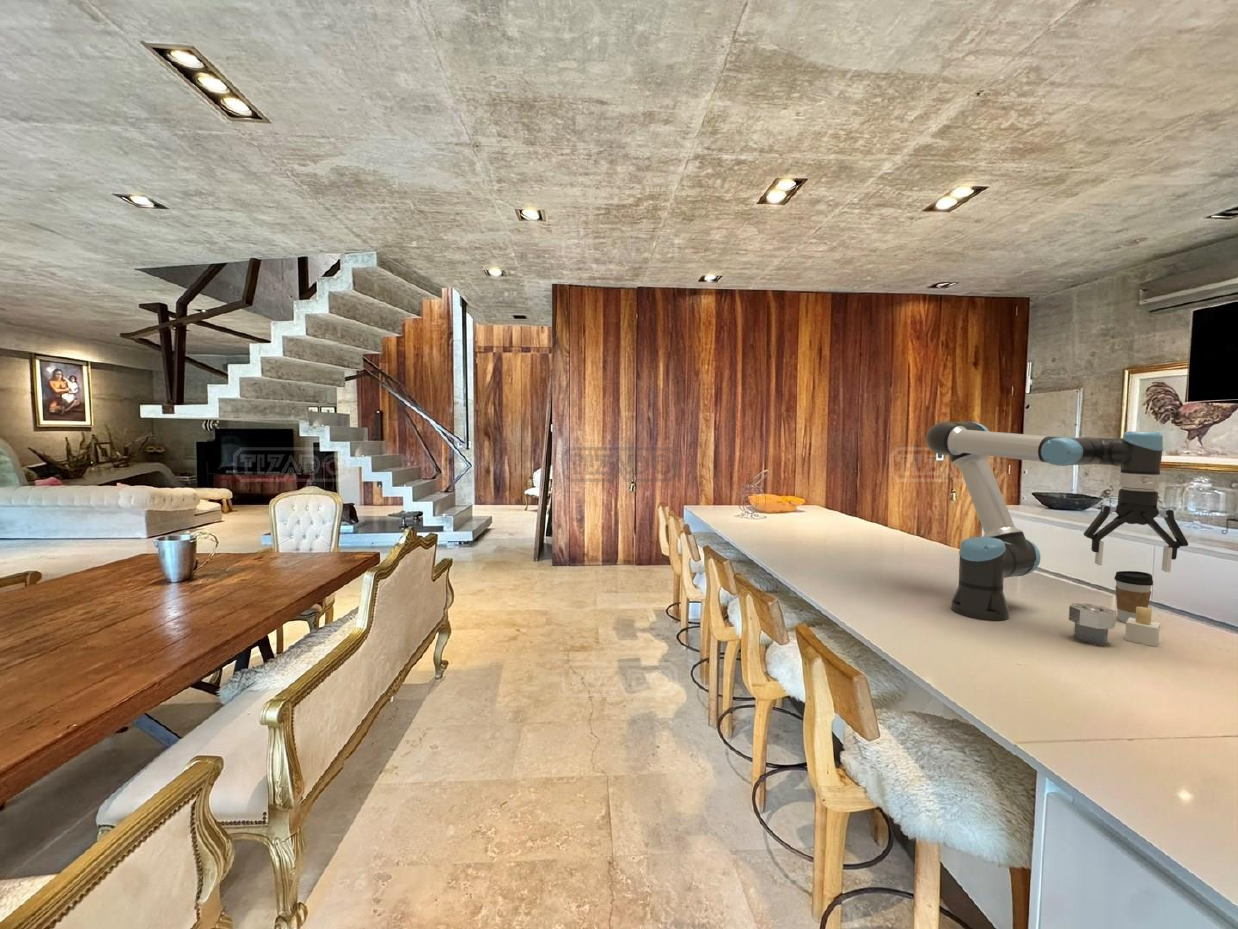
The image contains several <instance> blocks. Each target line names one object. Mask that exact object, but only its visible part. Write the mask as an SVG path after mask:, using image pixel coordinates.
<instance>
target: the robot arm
mask: <svg viewBox="0 0 1238 929" xmlns="http://www.w3.org/2000/svg"><path fill="white" fill-rule="evenodd" d="M925 438H926V439H925V440H926V444H927V446H928V449H929V450H931V451H932V452H933V453H935V454H937V455H942V456H949V458H950V460H951V463H952V465H954V466H956V467H958V468H959V470H960V473H961V475H962V478H963V481H964V483H965V486H966V488H967V490H968V493H969V494H968V495H969V496H970V498H971V502H972V503H973V507H974V510H975V511H976V515H977V517H978V519H979V522H980V525H981V528H982V530H983V533H984V534H983V536H980V537H977V536H973V537H968V538H965V539H963V540H962V541H961V542H960V548H959V551H958V554H959V563H958V564H959V565H958V568H959V569H958V586H957V588H956V591H955V593H954V595H953V598H952V599H951V604H950V605H951V606H950V608H951V610H953V611H954V612H955V613H957V614H960V615H962V616H966V617H970V618H972V619H978V620H984V621H985V620H986V621H987V620H988V621H1006V620H1008V619H1009V618H1010V609H1009V608H1010V607H1009V605H1008V603H1007V600H1006V597H1005V593H1004V581H1005V580H1004V579H1005V578H1006V579H1007V578H1014V577H1023V576H1025V575H1029V574H1031V573H1033V572H1034V571H1036V570H1037V568H1039V566H1040V564H1041V552H1040V549H1039V547H1038V546H1037V545H1036V544H1035V543H1034V542H1031V541H1030V540H1029V539H1026V536H1025V533H1024V531H1023V530H1022V529H1019V528H1017V527H1016V526H1015V524H1014V521H1013V518H1012V516H1011V514H1010V512H1009V509H1008V506H1007V504H1006V502H1005V499H1004V497H1003V494H1002V492H1001V489H1000V487H999V483H998V482H997V480H996V477H995V475H994V471H993V469H992V467H991V464H990V461H989V458H990V457H997V458H1005V459H1012V460H1013V459H1015V460H1023V461H1031V462H1039V463H1047V464H1050V465H1052V466H1058V467H1059V466H1060V467H1061V466H1062V467H1067V466H1074V465H1076V466H1081V465H1083V466H1084V465H1085V466H1086V465H1088V466H1089V465H1101V466H1115V467H1117V466H1119V467H1120V473H1119V482H1118V486H1119V487H1120V489H1118V493H1117V494H1118V495H1117V496H1118V497H1117V504H1116V506H1110V505H1107V504H1102V505H1101V508H1100V512H1099V513H1098V514H1097V516H1096V517H1095V518H1094V520H1093V521H1092V522H1091V523H1090V524H1089V526H1088V527H1087V529H1086V530H1085V531H1084V532H1083V536H1084V537H1086V538H1087V539H1091V548H1090V549H1091V551H1092V553H1093V552H1094V553H1095V557H1094V564H1096V565H1097V566H1102V565H1103V555H1104V547H1105V546H1104V544H1105V542H1104V541H1103V540H1102V539H1104V538H1105V537H1106V536H1107V535H1110V534H1111V533H1112V532H1113V531H1115V530H1116V529H1117V528H1119V527H1120V526H1123V524H1125V523H1126V524H1129V525H1135V524H1136V525H1141V526H1142V525H1143V526H1145V525H1148V526H1149V527H1150V528H1152V530H1153V531H1155V533H1156V534H1157V535H1158V536H1159V537H1160V538H1161V539H1162V540H1163V541H1164V542H1165V543H1166V545H1163V547H1162V548H1163V549H1162V559H1161V560H1162V561H1161V570H1162V571H1163V572H1166V573H1171V567H1172V566H1171V565H1172V560H1173V561H1174V560H1175V561H1176V559H1177V558H1178V557H1177V556H1178V549H1179V548H1180V547H1187V546H1189V542H1188V540H1187V538H1186V536H1185V535H1184V532H1183V531H1182V530H1181V528H1180V526H1179V525H1178V523H1177V521H1176V519H1175V511H1174V510H1172V509H1169V508H1164V509H1158V502H1159V499H1158V498H1159V492H1158V491H1157V490H1159V487H1160V478H1161V465H1162V459H1163V458H1162V457H1163V452H1164V447H1163V445H1164V442H1163V441H1164V436H1163V434H1162V433H1161V432H1158V431H1124V433H1123V435H1122V438H1120V437H1119V438H1114V437H1113V438H1112V437H1111V438H1108V437H1090V436H1087V437H1086V436H1085V437H1082V436H1081V437H1065V436H1064V437H1062V436H1051V435H1049V436H1048V435H1047V436H1046V435H1038V434H1037V435H1036V434H1024V433H1011V432H1001V431H999V432H998V431H990V430H989V429H988V428H987V427H986V426H985V425H983V424H981V423H978V422H973V421H941V422H938V423H936V424H934V425H933V426H932V427H930V428H929V430H928V431H927V433H926V437H925ZM1113 512H1115V513H1116V515H1117V516H1116V517H1115V518H1113V519H1112V520H1111V521H1110V522H1109V523H1108V524H1106V525H1105V526H1104V527H1102V528H1101V529H1099V528H1100V527H1101V526H1102V525H1103V524H1104V523H1105V521H1106V520H1107V519H1108V518H1109V516H1110V515H1112V514H1113ZM1159 515H1160V516H1161V518H1163V520H1164V521H1165V523H1166V525H1167V526H1168V529H1169V530H1170V532H1171V533H1172V536H1173V537H1174V539H1175V540H1174V539H1173V538H1172V537H1171V535H1170V534H1168V533H1167V532H1166V530H1164V528H1162V526H1161V525H1160V524H1159V523H1158V522H1157V521H1156V520H1155V518H1157V517H1158V516H1159Z"/></svg>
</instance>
